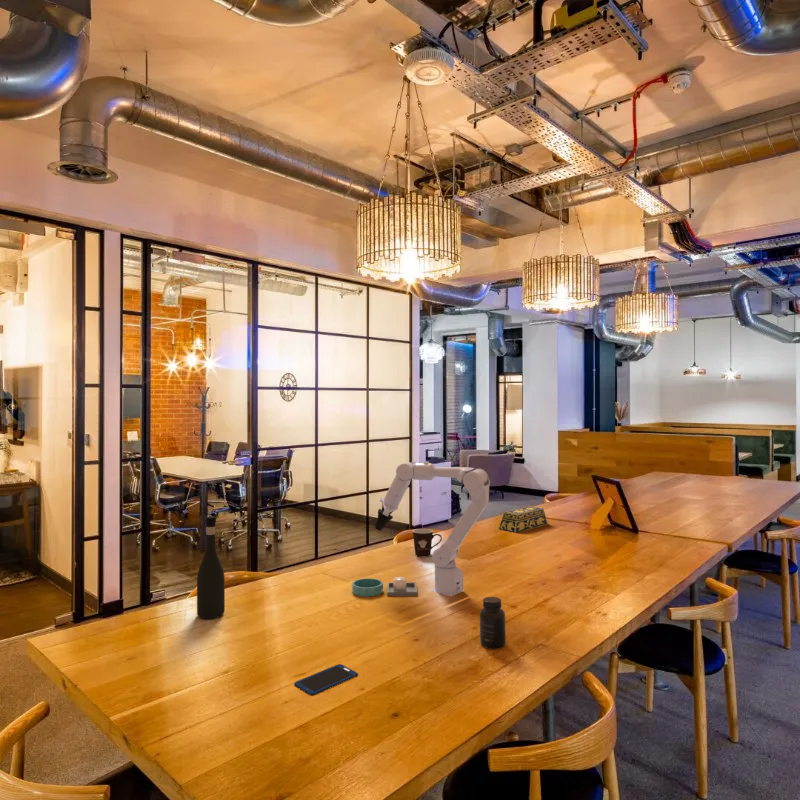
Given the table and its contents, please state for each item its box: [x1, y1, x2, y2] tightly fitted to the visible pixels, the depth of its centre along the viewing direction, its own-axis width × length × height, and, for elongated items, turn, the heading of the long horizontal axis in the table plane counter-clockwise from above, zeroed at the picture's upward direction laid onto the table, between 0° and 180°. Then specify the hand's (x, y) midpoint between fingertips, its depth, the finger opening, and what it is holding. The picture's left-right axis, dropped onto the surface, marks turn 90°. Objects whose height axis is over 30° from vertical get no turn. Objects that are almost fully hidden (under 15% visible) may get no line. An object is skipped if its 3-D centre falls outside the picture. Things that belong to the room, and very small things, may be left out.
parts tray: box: [386, 581, 418, 597], centre depth 195 cm, size 10×10×2 cm
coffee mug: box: [412, 528, 443, 557], centre depth 241 cm, size 12×9×10 cm
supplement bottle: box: [479, 596, 507, 650], centre depth 153 cm, size 7×7×12 cm
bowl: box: [351, 577, 384, 598], centre depth 194 cm, size 10×10×3 cm
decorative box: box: [498, 505, 549, 534], centre depth 295 cm, size 11×30×9 cm, turn 134°
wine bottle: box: [196, 515, 226, 620], centre depth 174 cm, size 8×8×30 cm
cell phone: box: [293, 663, 359, 696], centre depth 134 cm, size 7×14×1 cm, turn 135°
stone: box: [392, 576, 407, 592], centre depth 195 cm, size 4×4×4 cm
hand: (379, 525), depth 206 cm, fingers open, 7 cm apart
